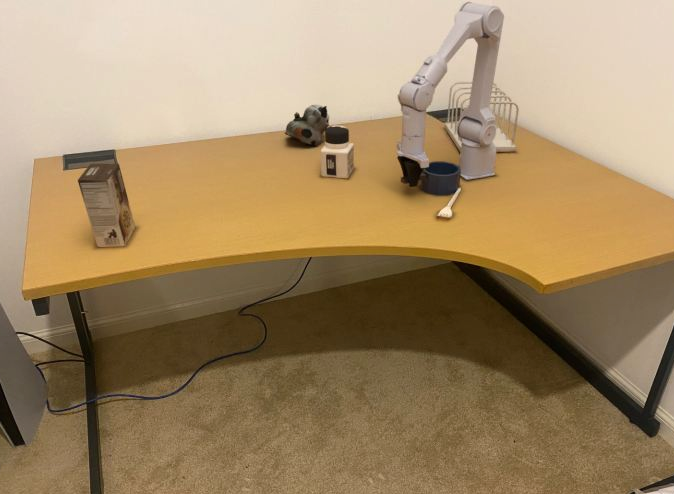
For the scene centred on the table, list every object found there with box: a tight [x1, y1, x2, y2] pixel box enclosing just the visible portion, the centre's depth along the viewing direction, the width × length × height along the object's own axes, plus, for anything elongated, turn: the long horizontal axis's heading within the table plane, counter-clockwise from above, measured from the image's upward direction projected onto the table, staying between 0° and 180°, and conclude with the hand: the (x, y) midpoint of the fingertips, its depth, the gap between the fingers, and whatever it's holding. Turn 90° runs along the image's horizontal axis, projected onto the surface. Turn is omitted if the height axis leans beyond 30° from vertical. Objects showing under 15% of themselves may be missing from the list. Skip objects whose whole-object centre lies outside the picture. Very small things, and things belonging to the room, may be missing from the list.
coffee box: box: [77, 163, 136, 248], centre depth 126 cm, size 9×6×16 cm
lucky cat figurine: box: [284, 104, 330, 147], centre depth 182 cm, size 15×12×14 cm
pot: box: [400, 160, 461, 196], centre depth 151 cm, size 17×10×6 cm, turn 120°
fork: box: [436, 187, 462, 219], centre depth 145 cm, size 3×20×2 cm, turn 159°
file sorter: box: [444, 81, 520, 153], centre depth 182 cm, size 25×17×16 cm
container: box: [320, 125, 355, 179], centre depth 159 cm, size 8×8×13 cm
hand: (410, 184), depth 149 cm, fingers closed on pot, 2 cm apart
